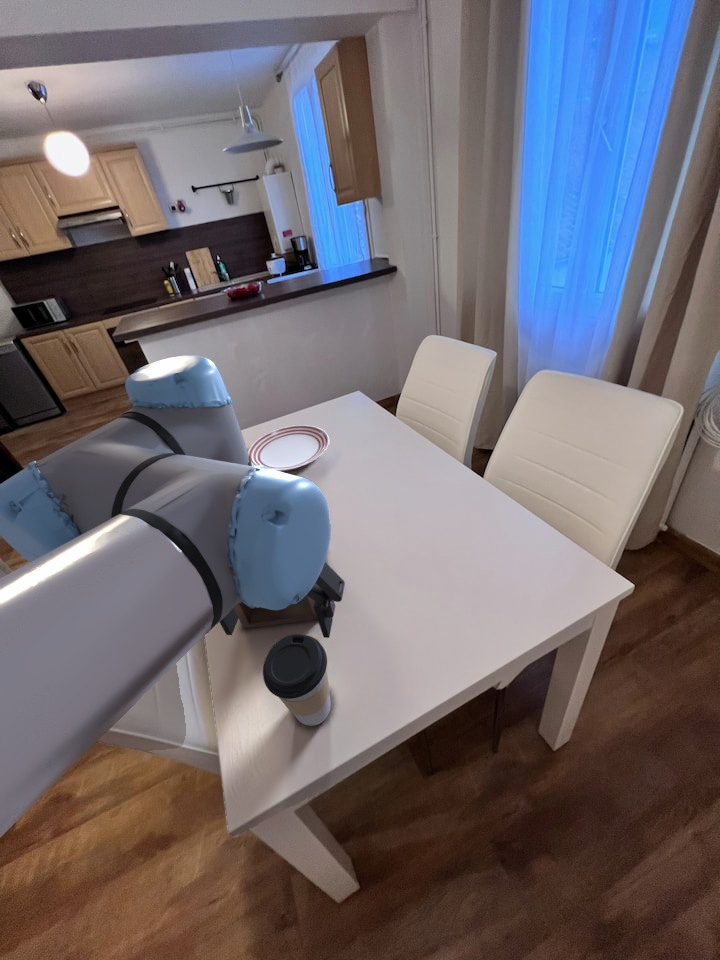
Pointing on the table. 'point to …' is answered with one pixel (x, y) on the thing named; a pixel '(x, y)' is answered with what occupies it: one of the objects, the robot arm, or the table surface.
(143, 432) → the robot arm
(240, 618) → the wooden cubby box
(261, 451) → the dinner plate
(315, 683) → the coffee cup
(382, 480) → the table surface
